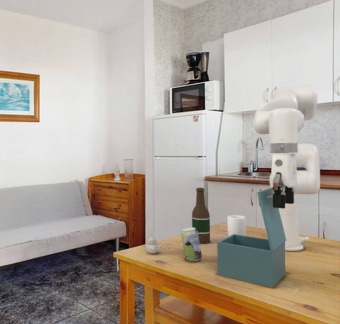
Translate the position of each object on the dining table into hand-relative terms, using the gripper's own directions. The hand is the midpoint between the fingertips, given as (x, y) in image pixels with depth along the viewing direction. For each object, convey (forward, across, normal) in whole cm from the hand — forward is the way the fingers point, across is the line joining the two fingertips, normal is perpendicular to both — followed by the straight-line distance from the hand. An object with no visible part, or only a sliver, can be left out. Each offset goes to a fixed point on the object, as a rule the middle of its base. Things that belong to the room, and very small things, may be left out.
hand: (283, 205), depth 103 cm
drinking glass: (+24, +17, +21) cm, 36 cm away
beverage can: (+24, +1, +31) cm, 39 cm away
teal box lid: (+4, 0, +4) cm, 5 cm away
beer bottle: (+24, +26, +40) cm, 53 cm away
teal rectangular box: (+24, 0, +10) cm, 26 cm away
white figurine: (+24, -1, +47) cm, 52 cm away
